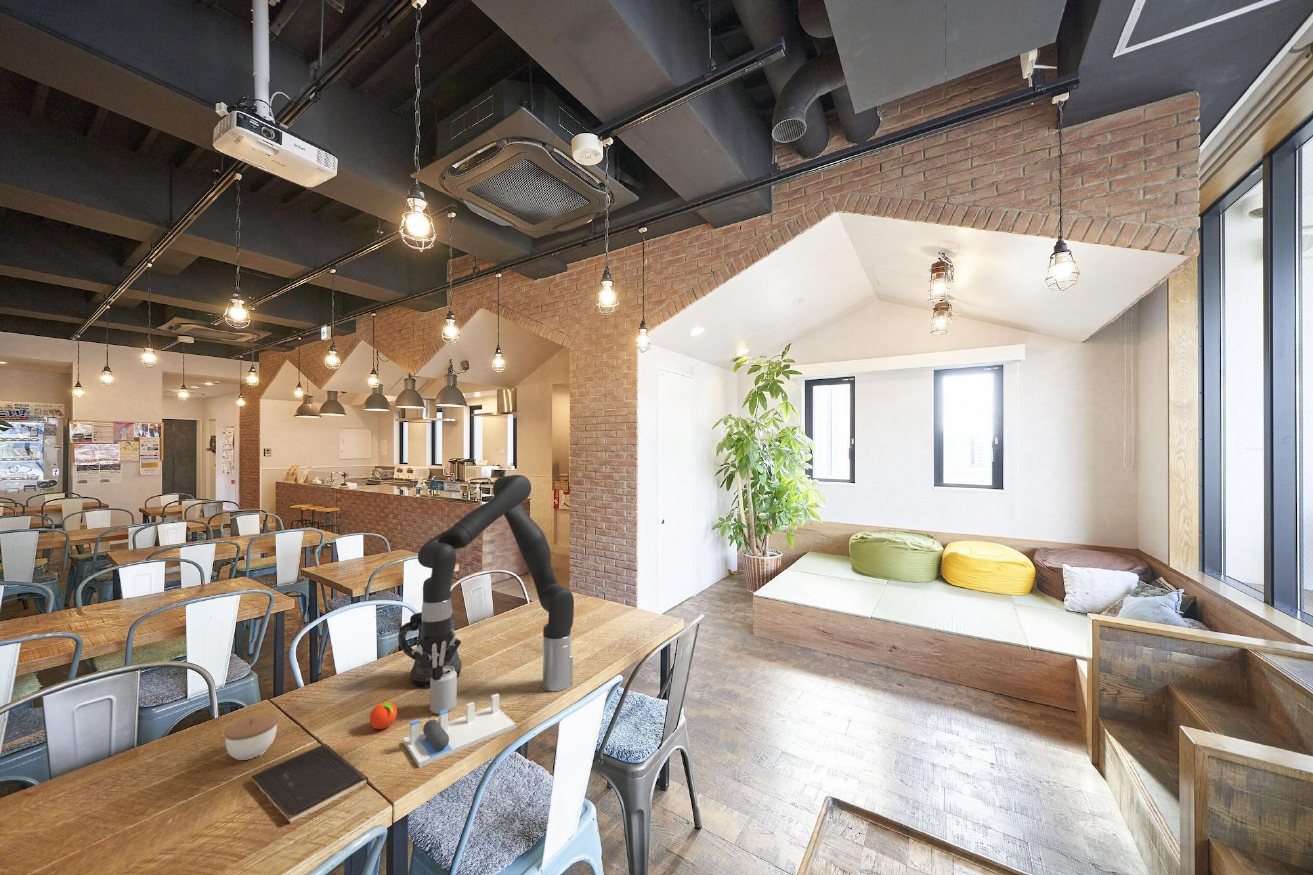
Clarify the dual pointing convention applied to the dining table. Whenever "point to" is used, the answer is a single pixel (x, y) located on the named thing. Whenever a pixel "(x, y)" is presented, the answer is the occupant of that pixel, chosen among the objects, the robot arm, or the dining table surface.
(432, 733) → the dark grey rounded cylinder
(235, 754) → the lidded jar
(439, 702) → the can
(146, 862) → the dining table surface
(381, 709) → the clementine
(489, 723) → the white peg board
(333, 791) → the hardcover book
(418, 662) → the beer stein
